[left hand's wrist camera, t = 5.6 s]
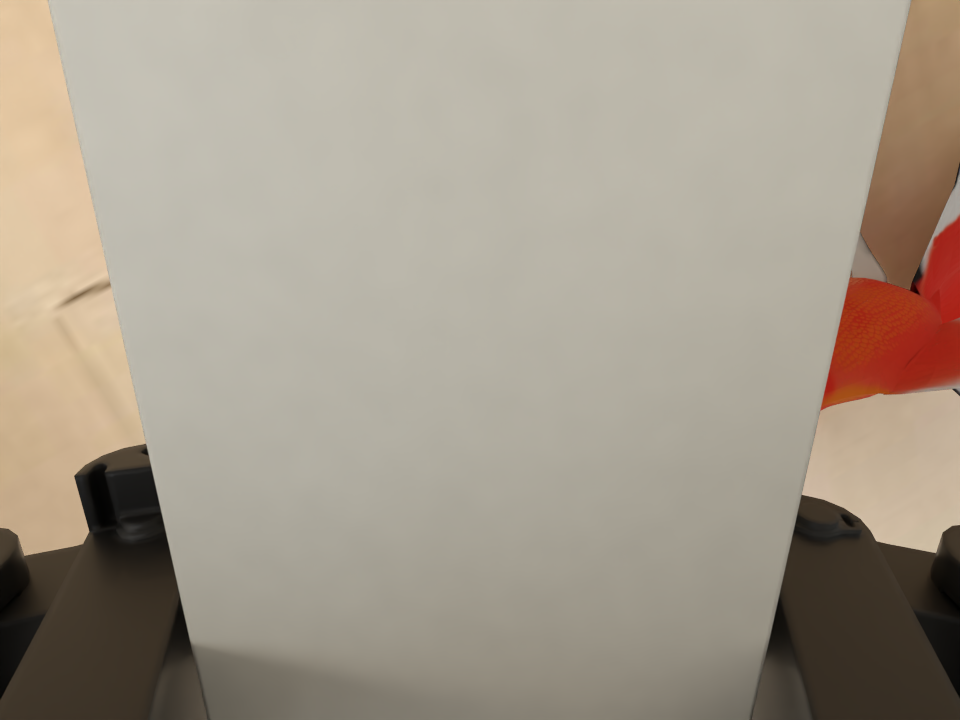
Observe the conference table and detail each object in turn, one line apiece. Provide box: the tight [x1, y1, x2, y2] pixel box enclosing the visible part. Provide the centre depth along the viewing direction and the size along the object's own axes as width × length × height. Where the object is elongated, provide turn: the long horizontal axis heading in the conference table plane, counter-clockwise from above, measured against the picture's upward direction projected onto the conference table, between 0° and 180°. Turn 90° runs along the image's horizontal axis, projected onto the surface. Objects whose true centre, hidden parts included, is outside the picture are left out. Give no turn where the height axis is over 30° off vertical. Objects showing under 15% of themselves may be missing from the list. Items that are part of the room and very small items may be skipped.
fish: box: [820, 164, 960, 411], centre depth 22 cm, size 11×16×10 cm
